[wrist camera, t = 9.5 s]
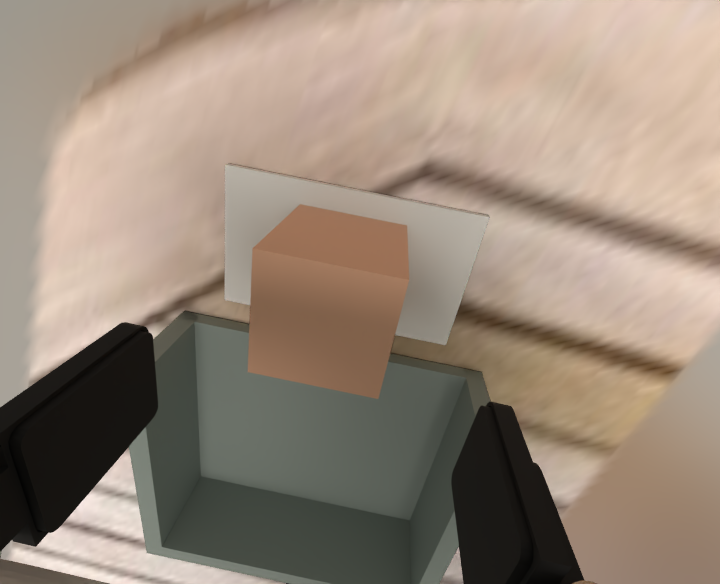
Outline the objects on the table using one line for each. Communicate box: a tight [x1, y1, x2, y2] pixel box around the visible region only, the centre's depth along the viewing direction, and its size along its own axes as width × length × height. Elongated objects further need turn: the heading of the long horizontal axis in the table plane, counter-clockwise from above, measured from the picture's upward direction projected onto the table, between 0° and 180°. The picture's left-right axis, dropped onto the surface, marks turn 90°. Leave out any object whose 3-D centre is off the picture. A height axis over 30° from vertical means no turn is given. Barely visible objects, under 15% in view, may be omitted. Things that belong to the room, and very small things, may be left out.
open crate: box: [129, 311, 491, 584], centre depth 21 cm, size 17×14×6 cm
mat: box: [225, 164, 490, 345], centre depth 18 cm, size 12×7×1 cm, turn 80°
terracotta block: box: [248, 204, 409, 399], centre depth 15 cm, size 5×5×6 cm
